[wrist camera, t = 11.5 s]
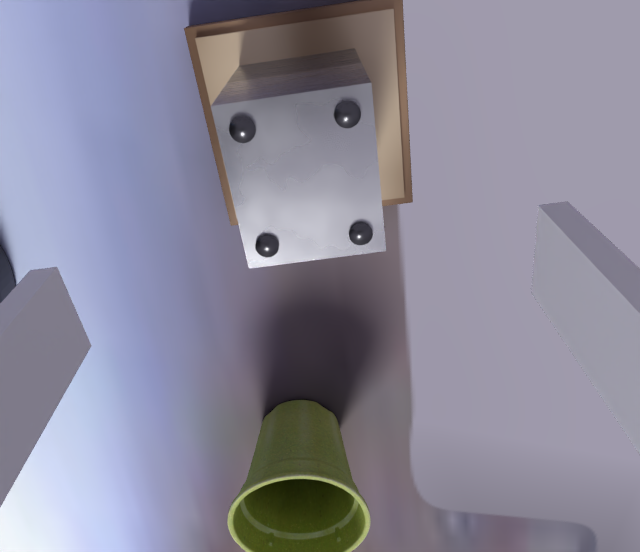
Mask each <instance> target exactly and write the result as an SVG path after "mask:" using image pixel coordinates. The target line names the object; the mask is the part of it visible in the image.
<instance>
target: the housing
mask: <svg viewBox="0 0 640 552" xmlns="http://www.w3.org/2000/svg"><path fill="white" fill-rule="evenodd" d="M211 110H212V114H213V118H214V122H215V127H216V131H217V135H218V139H219V144H220V148H221V152H222V156H223V161H224V165H225V169H226V173H227V178H228V182H229V186H230V190H231V194H232V199H233V203H234V207H235V211H236V216H237V220H238V224H239V228H240V233H241V237H242V241H243V245H244V250H245V254H246V258H247V262H248V266H249V268H257V267H265V266H273V265H280V264H288V263H296V262H304V261H312V260H319V259H327V258H335V257H343V256H350V255H358V254H366V253H374V252H382V251H386V244H385V232H384V221H383V210H382V198H381V187H380V175H379V164H378V152H377V141H376V129H375V118H374V106H373V95H372V83H371V81H370V79H369V77H368V75H367V73H366V71H365V69H364V66H363V64H362V62H361V60H360V58H359V56H358V54H357V52H356V50H355V48H354V49H347V50H340V51H334V52H327V53H320V54H314V55H307V56H301V57H294V58H287V59H281V60H274V61H267V62H261V63H254V64H248V65H241V66H238V68H237V69H236V71H235V72H234V74H233V75H232V76H231V78H230V79H229V81H228V82H227V84H226V85H225V86H224V88H223V89H222V91H221V92H220V94H219V95H218V96H217V98H216V99H215V101H214V102H213V104H212V105H211Z"/></svg>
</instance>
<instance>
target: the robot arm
mask: <svg viewBox="0 0 640 552" xmlns="http://www.w3.org/2000/svg"><path fill="white" fill-rule="evenodd" d="M531 293H532V295H533V296H534V298H535V299H536V301H537V302H538V304H539V305H540V307H541V308H542V310H543V311H544V313H545V314H546V315H547V317H548V319H549V320H550V322H551V323H552V324H553V326H554V328H555V329H556V330H557V332H558V334H559V335H560V336H561V338H562V339H563V341H564V342H565V344H566V345H567V347H568V348H569V350H570V351H571V353H572V354H573V356H574V357H575V359H576V360H577V362H578V363H579V365H580V366H581V368H582V369H583V371H584V372H585V374H586V375H587V377H588V378H589V380H590V381H591V383H592V384H593V386H594V387H595V389H596V390H597V392H598V393H599V394H600V396H601V398H602V399H603V401H604V402H605V404H606V405H607V407H608V408H609V410H610V411H611V413H612V414H613V416H614V417H615V419H616V420H617V422H618V423H619V425H620V426H621V427H622V429H623V430H624V432H625V433H626V435H627V436H628V438H629V439H630V441H631V442H632V444H633V445H634V447H635V448H636V450H637V451H638V453H639V454H640V269H639V267H638V266H636V265H635V264H634V263H633V262H632V261H631V260H630V259H629V258H628V257H627V256H626V255H625V254H624V253H622V252H621V251H620V250H619V249H618V248H617V247H616V246H615V245H614V244H613V243H612V242H611V241H610V240H609V239H607V238H606V237H605V236H604V235H603V234H602V233H601V232H600V231H599V230H598V229H597V228H596V227H595V226H593V225H592V224H591V223H590V222H589V221H588V220H587V219H586V218H585V217H584V216H582V215H581V214H580V213H579V212H578V211H577V210H576V209H575V208H574V207H573V206H572V205H571V204H570V203H569V202H560V203H551V204H543V205H538V213H537V226H536V238H535V251H534V264H533V278H532V291H531ZM90 347H91V344H90V342H89V339H88V337H87V335H86V332H85V330H84V328H83V325H82V323H81V321H80V319H79V316H78V314H77V312H76V309H75V307H74V305H73V303H72V300H71V298H70V296H69V293H68V291H67V289H66V286H65V284H64V282H63V280H62V277H61V275H60V273H59V270H58V268H57V267H52V268H45V269H37V270H30V271H29V272H28V273H27V274H26V276H25V277H24V278H23V279H22V280H21V281H20V282H19V283H18V284H17V286H16V287H15V281H14V277H13V273H12V269H11V267H10V264H9V261H8V259H7V257H6V255H5V253H4V251H3V249H2V247H1V246H0V507H1V505H2V503H3V501H4V500H5V498H6V496H7V494H8V492H9V491H10V489H11V487H12V485H13V484H14V482H15V480H16V478H17V477H18V475H19V473H20V471H21V469H22V468H23V466H24V464H25V462H26V461H27V459H28V457H29V455H30V454H31V452H32V450H33V448H34V446H35V445H36V443H37V441H38V439H39V438H40V436H41V434H42V432H43V431H44V429H45V427H46V425H47V423H48V422H49V420H50V418H51V416H52V415H53V413H54V411H55V409H56V408H57V406H58V404H59V402H60V400H61V399H62V397H63V395H64V393H65V392H66V390H67V388H68V386H69V385H70V383H71V381H72V379H73V377H74V376H75V374H76V372H77V370H78V369H79V367H80V365H81V363H82V362H83V360H84V358H85V356H86V354H87V353H88V351H89V349H90Z"/></svg>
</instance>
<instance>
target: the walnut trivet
mask: <svg viewBox="0 0 640 552" xmlns="http://www.w3.org/2000/svg"><path fill="white" fill-rule="evenodd" d="M184 30H185V35H186V39H187V43H188V47H189V51H190V56H191V60H192V64H193V68H194V72H195V77H196V81H197V85H198V89H199V93H200V98H201V102H202V106H203V110H204V114H205V119H206V123H207V127H208V131H209V135H210V140H211V144H212V148H213V152H214V156H215V161H216V165H217V169H218V173H219V177H220V182H221V186H222V190H223V194H224V198H225V203H226V207H227V211H228V215H229V219H230V224H231V225H239V224H238V220H237V216H236V211H235V207H234V203H233V199H232V194H231V190H230V186H229V182H228V178H227V173H226V169H225V165H224V161H223V156H222V152H221V148H220V144H219V139H218V135H217V131H216V127H215V122H214V118H213V114H212V110H211V105H212V104H213V102H214V101H215V99H216V98H217V96H218V95H219V94H220V92H221V91H222V89H223V88H224V86H225V85H226V84H227V82H228V81H229V79H230V78H231V76H232V75H233V74H234V72H235V71H236V69H237V68H238V66H241V65H248V64H254V63H261V62H267V61H274V60H281V59H287V58H294V57H301V56H307V55H314V54H320V53H327V52H334V51H340V50H347V49H354V48H355V50H356V52H357V54H358V56H359V58H360V60H361V62H362V64H363V66H364V69H365V71H366V73H367V75H368V77H369V79H370V81H371V83H372V95H373V106H374V118H375V129H376V141H377V152H378V164H379V175H380V187H381V198H382V206H387V205H395V204H403V203H410V202H412V201H413V200H412V180H411V160H410V142H409V141H410V140H409V120H408V100H407V81H406V62H405V61H406V60H405V40H404V20H403V0H359V1H353V2H346V3H339V4H333V5H326V6H319V7H312V8H306V9H299V10H292V11H286V12H279V13H272V14H266V15H259V16H252V17H246V18H239V19H232V20H226V21H219V22H212V23H206V24H199V25H192V26H188V27H186V28H184Z"/></svg>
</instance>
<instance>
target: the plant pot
mask: <svg viewBox="0 0 640 552" xmlns="http://www.w3.org/2000/svg"><path fill="white" fill-rule="evenodd" d="M228 528H229V531H230V534H231V536H232V537H233V539H234V540H235V541H236V543H238V545H239V546H240V547H241V548H242V549H244V550H245V551H246V552H351V551H352V550H354V549H355V548H356V547H357V546H359V545H360V543H361V542H362V541H363V540H364V538H365V537H366V535H367V533H368V531H369V528H370V513H369V509H368V506H367V504H366V502H365V500H364V499H363V497H362V496H361V495H360V494H359V492H358V489H357V487H356V485H355V483H354V482H353V480H352V476H351V472H350V468H349V464H348V461H347V457H346V453H345V449H344V445H343V441H342V436H341V432H340V428H339V424H338V421H337V419H336V417H335V415H334V414H333V413H332V412H331V411H328V410H327V409H325V408H324V407H322V406H321V405H320V404H318V403H317V402H313V401H308V400H293V401H288V402H284V403H282V404H279V405H278V406H276V407H275V408H274V409H273V410H272V411H271V412H270V413H269V414H268V415H267V416H265V418H264V420H263V422H262V426H261V430H260V434H259V437H258V441H257V445H256V449H255V452H254V456H253V459H252V463H251V466H250V470H249V473H248V476H247V480H246V482H245V483H244V485H243V487H242V488H241V491H240V493H239V494H238V495H237V497H236V498H235V499H234V500H233V502H232V504H231V506H230V509H229V513H228Z"/></svg>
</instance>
